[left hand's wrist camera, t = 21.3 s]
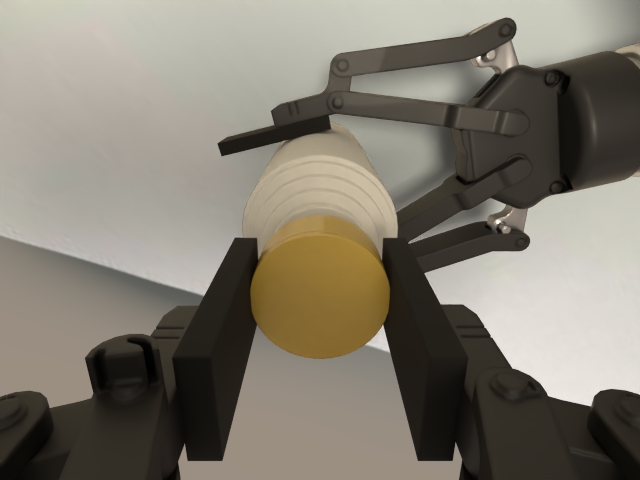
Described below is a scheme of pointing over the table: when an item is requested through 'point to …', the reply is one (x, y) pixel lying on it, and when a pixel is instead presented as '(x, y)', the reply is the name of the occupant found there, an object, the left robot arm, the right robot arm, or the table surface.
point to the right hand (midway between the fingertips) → (243, 204)
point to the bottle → (320, 188)
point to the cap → (320, 288)
